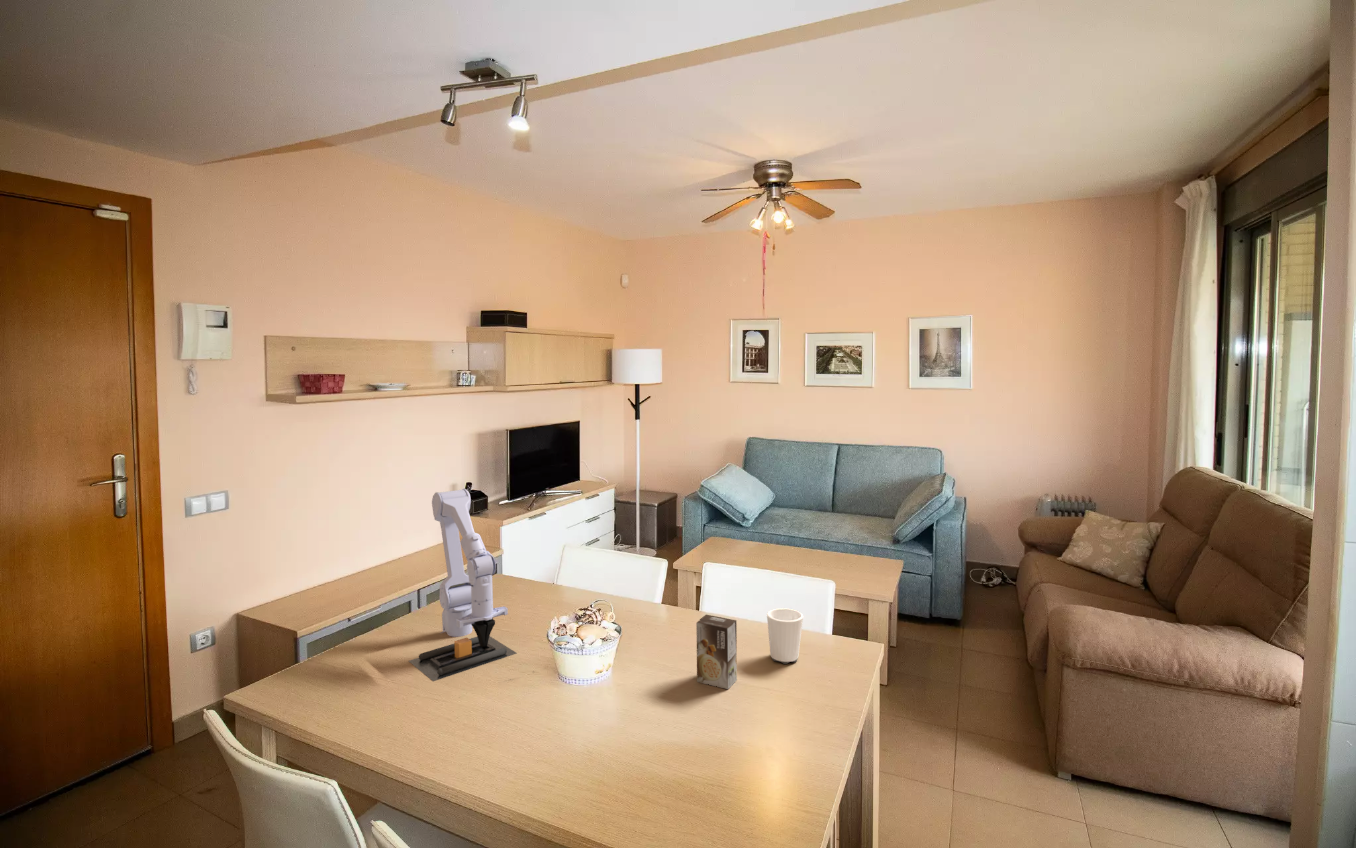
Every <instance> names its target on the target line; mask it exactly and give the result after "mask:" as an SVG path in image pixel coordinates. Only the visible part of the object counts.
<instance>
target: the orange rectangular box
mask: <svg viewBox="0 0 1356 848" xmlns="http://www.w3.org/2000/svg"><path fill="white" fill-rule="evenodd" d="M470 639H471V638H468V637H464V638H461V639H456V640H454V643H453V644H455V657H456V658H460V657H463V656H466V655H469V654H472V642H471V640H470Z"/></svg>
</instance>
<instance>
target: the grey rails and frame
mask: <svg viewBox="0 0 1356 848" xmlns="http://www.w3.org/2000/svg"><path fill="white" fill-rule="evenodd" d="M469 639H470V640H471V642H472V645H473V644H476V643H479V640H478V637H477V636H475V637H471V638H469ZM454 650H455V644H454V643H451V644H448V645H444V646H441V647H438V648H435V649H431V650H427V651H425V652H421V653H419V654H418V658H419V659H420V660H424V659H428V658H431V657H434V656H437V655H441V654H444V653H447V652H450V651H454ZM506 653H507V649H506V648H501V649H498V650H495V651H492V652H488V653H485V654H482V655H479V656H476V657H473V658H470V659H467V660H464V661H460V662H457V663H454V664H451V665H448V666H445V667H442V668H439V669H438V671H437V673H438V675H443V674H446V673H449V672H452V671H455V670H459V669H462V668H465V667H468V666H471V665H474V664H477V663H480V662H483V661H486V660H489V659H492V658H495V657H498V656H501V655H504V654H506Z"/></svg>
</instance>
